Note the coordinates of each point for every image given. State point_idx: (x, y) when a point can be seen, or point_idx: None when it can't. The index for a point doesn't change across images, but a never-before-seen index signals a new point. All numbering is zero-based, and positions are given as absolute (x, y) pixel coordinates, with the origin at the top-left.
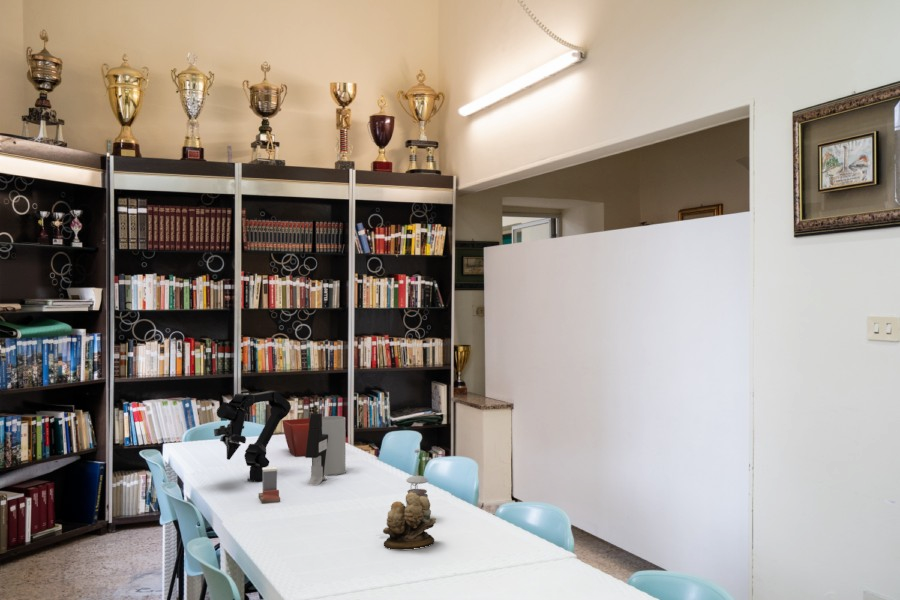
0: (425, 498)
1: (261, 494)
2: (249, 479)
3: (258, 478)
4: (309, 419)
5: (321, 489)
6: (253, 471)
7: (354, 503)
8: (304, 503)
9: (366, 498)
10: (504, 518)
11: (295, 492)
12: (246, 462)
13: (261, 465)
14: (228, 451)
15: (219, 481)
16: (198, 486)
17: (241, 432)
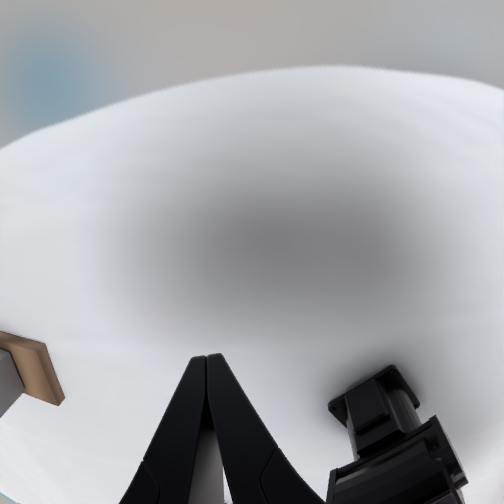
0: None
1: (21, 353)
2: (384, 377)
3: (346, 416)
4: None
5: None
6: (355, 427)
7: (23, 464)
8: None
9: (58, 492)
10: (5, 496)
11: (103, 449)
12: (437, 428)
13: (330, 482)
14: (145, 458)
15: (454, 221)
16: (375, 75)
17: None
